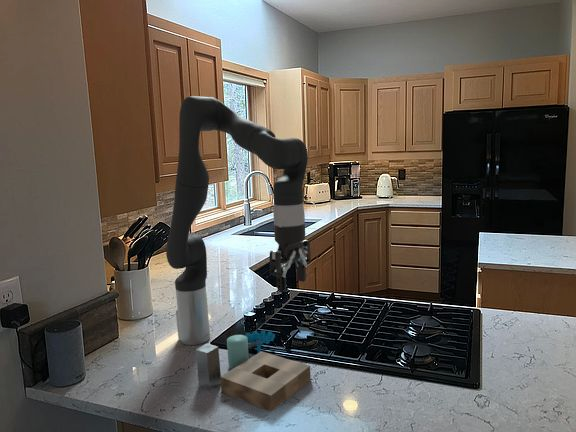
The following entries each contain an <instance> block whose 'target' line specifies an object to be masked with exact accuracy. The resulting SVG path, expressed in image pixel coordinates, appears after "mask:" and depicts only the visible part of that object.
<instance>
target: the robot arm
mask: <svg viewBox="0 0 576 432" xmlns="http://www.w3.org/2000/svg"><path fill="white" fill-rule="evenodd" d="M180 105H181V106H180V109H179V120H178V121H179V126H178V127H179V131H178V132H179V135H178V138H179V142H178V143H179V144H178V145H179V147H178V159H177V160H178V161H177V170H176V178H175V187H174V201H173V209H172V217H171V223H170V227H169V232H168V236H167V241H166V248H165V249H166V250H165V254H166V256H165V257H166V261H167V264H169V266H170V267H171V268H172V269H175V270H179V269H184V270H183V271H182V273H181V274H180V275H178V276H177V277H176V278H175V281H174V286H175V288H174V289H175V296H176V306H177V309H176V311H175V316H176V325H177V326H176V327H177V336H178V340H180V343H181V344H183V345H187V346H196V345H197V346H198V345H201V344H204V343H206V342H208V341H209V340H210V339H211V331H210V320H209V319H210V317H209V309H208V308H209V307H208V306H209V305H208V297H207V296H208V294H207V285H206V284H207V281H206V280H207V278H208V264H207V263H208V261H207V260H208V258H207V247H206V244H205V241H204V239H203V238H202V236H200V235H198V234H195V233H193V234H189V233H190V230H191V228H192V225H193V223H194V222H195V220H196V218H197V217H198V215H199V214H200V212H201V211H202V209H203V207H204V205H205V203H206V201H207V198H208V191H209V184H210V175H209V173H208V169H207V167H206V165H205V162H204V161H203V159H202V155H201V154H200V153H201V152H200V135H201V132H210V131H211V132H212V131H218V132H222V133H225V134H228V135H229V136H231V138H232V140H233V141H234V143H235V144H237V146H239V147H241V148H242V149H244V150H245V151H247V152H249V153H252V154H253V155H256V156H257V157H258V159H260V161H261V162H263V163H264V164H265V165H266V166H267V167H269V168H272V169H274V170H283V172H282V176H281V177H279V178H278V179H277V180H275V181H274V182H273V188H272V189H273V191H272V192H273V231H274V232H273V233H274V234H273V235H274V241H275V242H276V243H277V244H278V247H277V250H270V251H269V275H270V276H274V277H275V278H276V288H277V291H278V292H281V293H285V292H287V276H286V275H287V272H288V270H289V269H290V268H291V265H292V264H294V263H295V265H296V279H297V281H299V282H306V280H307V271H306V270H307V267H308V264H310V263H311V261H312V258H311V257H312V255H311V244H310V242H311V241H310V240H309V239H306V222H305V221H306V220H305V217H306V216H305V208H304V194H303V193H304V191H303V183H304V181H305V178H306V177H305V176H306V171H307V167H308V161H309V160H308V158H309V156H308V155H309V154H308V149H307V146H306V144H305V143H304V141H302V140H301V139H300V138H297V137H291V138H277V137H276V135H275V133H274V132H273V131H272V130H270V129H269V128H268V127H265V126H263V125H260V124H258V123H257V122H254V121H251V120H249V119H247V118H246V117H243V116H241V115H240V114H238V113H237V112H235V111H234V110H233V109H231V108H230V107H228V106H227V105H226V104H224V103H223V102H222V101H220V100H219V99H218V98H215V97H213V96H201V95H200V96H197V95H196V96H195V95H191V96H190V95H189V96H186V97H185V98H184V99H183V101H182V102H181V104H180ZM305 255H306V256H305Z"/></svg>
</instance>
